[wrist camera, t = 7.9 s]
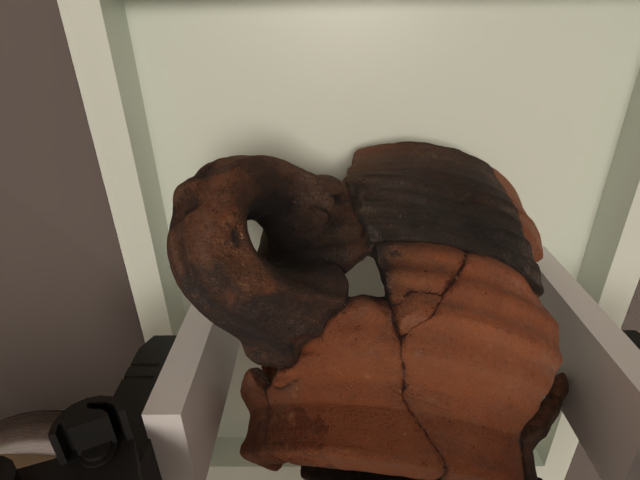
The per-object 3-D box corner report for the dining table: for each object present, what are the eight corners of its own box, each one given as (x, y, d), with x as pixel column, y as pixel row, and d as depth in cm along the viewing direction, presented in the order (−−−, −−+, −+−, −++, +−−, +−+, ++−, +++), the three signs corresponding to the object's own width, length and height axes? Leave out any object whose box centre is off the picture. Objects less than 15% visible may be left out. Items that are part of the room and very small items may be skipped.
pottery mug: (594, 231, 15) (664, 528, 10) (376, 298, 21) (362, 498, 17) (333, -58, 8) (226, 386, 4) (136, 161, 15) (11, 425, 10)
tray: (193, 441, 21) (181, 481, 19) (85, -46, 12) (42, -55, 10) (542, 440, 20) (563, 481, 18) (701, -60, 11) (770, -72, 10)
